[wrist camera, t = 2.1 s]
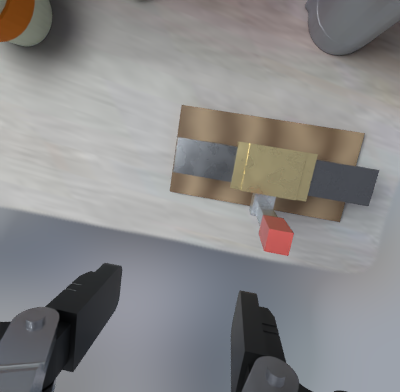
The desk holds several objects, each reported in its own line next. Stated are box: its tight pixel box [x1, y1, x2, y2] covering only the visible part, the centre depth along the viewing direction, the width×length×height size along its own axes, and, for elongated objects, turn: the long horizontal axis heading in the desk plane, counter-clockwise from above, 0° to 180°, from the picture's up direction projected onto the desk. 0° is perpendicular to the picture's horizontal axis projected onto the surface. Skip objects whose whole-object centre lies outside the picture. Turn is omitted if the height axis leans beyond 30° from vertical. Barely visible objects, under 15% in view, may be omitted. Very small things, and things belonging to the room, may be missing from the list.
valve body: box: [173, 137, 379, 206], centre depth 34 cm, size 22×5×11 cm, turn 81°
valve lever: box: [249, 193, 294, 256], centre depth 28 cm, size 2×3×13 cm
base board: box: [170, 105, 365, 222], centre depth 40 cm, size 26×13×2 cm, turn 81°
